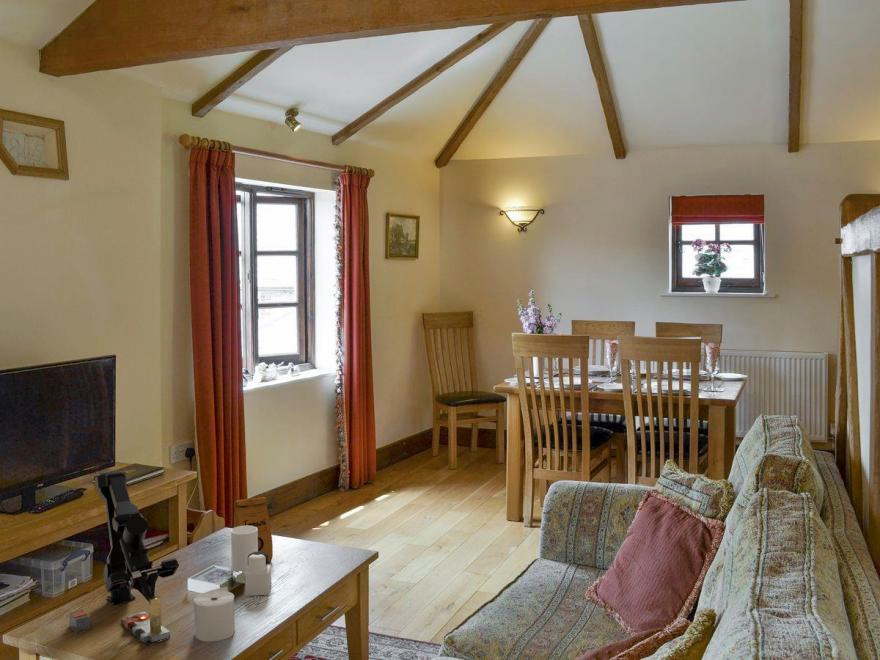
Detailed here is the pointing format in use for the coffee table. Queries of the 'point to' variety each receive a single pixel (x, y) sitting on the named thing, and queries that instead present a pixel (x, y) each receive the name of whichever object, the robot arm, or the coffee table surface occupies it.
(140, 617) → the rack
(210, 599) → the toilet tissue
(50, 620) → the coffee table surface
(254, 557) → the medicine bottle
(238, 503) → the coffee package
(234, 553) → the white cylinder
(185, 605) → the coffee table surface
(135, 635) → the guide
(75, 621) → the grey and red block
